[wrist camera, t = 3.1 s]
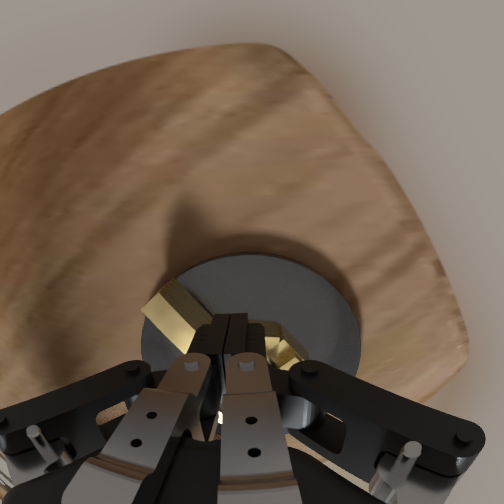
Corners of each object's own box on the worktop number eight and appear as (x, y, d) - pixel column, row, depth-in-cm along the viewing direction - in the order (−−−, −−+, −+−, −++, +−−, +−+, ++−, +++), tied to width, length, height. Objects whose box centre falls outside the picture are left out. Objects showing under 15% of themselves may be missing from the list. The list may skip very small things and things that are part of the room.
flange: (242, 450, 30) (240, 491, 23) (109, 339, 27) (78, 373, 20) (389, 358, 27) (416, 395, 20) (263, 200, 24) (266, 201, 17)
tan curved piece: (326, 371, 25) (336, 397, 21) (245, 421, 27) (244, 448, 23) (209, 244, 23) (199, 255, 19) (130, 317, 25) (111, 337, 21)
